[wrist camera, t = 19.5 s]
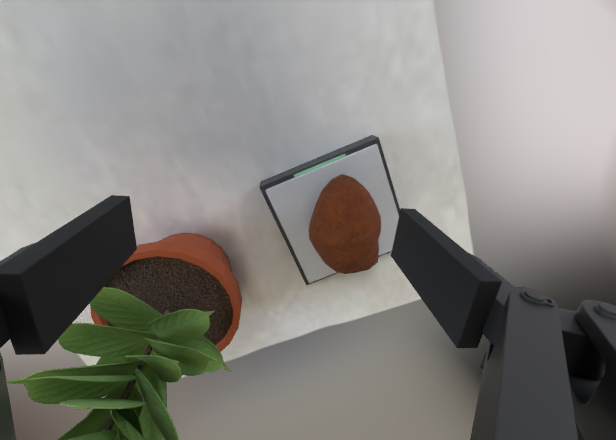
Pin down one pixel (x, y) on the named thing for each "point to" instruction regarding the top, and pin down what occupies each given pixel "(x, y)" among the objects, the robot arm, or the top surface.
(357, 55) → the top surface
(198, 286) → the potted plant
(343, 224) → the potato
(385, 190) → the scale
